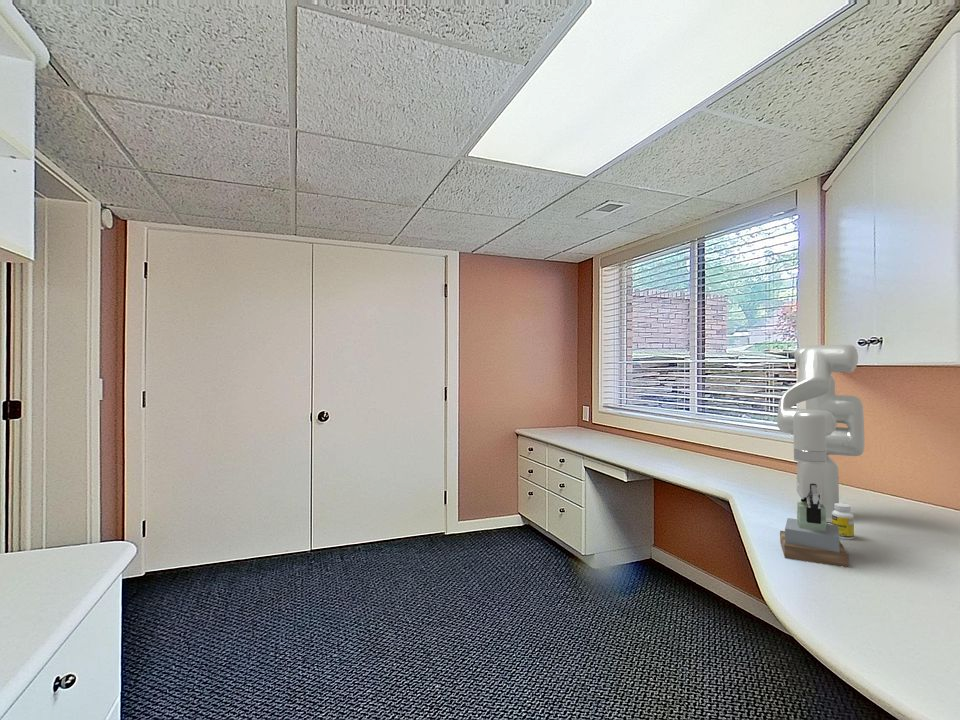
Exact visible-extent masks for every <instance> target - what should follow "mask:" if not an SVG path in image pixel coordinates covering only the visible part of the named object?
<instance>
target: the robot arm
mask: <svg viewBox="0 0 960 720" xmlns="http://www.w3.org/2000/svg"><path fill="white" fill-rule="evenodd" d="M793 357H794V361H795V364H796V366H797V368H798V378H797V382H796V383H795V384H793V385H792V386H790V387H789V388H788V389H786V391H785V392H784V393H783V394H782V396H781V397H780V399H779V402H778V409H777V417H776V422H777V423H776V424H777V428H778V429H779V430H780V431H781V432H782V433H785V434H790V435H792V436H793V461H795V462H797V463H796V464H797V465H796V493H797V494H798V497H800V498H801V499H800V501H802V502H807V505H808V507H806V517H807V522H808V523H816V524H821V508H820V503H821V504H823V505H824V507H825V509H826V523H828V524H832V512H833V511H834V510H835V508H834V504H835V503H840V494H839V493H840V492H839V490H840V489H839V488H840V487H839V486H840V485H839V484H840V482H839V479H840V478H839V468H838V465H837V463H836V462H835V461H834V460H833V459H832V458H831V456H834V455H835V456H842V457H843V456H844V457H859V456H862V455H863V454H864V451H865V420H864V419H865V418H864V417H865V416H864V414H865V412H864V406H863V403H862V401H861V399H860V398H859V397H858V396H855V395H848V394H847V395H846V394H836V381H835V379H834V377H833V376H832V373H853V372H854V371H855V370H856V368H857V365H858V363H859V354H858V350H857V349H856V347H855V346H854V345H853V344H830V345H828V344H827V345H826V344H821V345H820V344H819V345H817V344H816V345H814V344H813V345H804V346H801V347H797V348H796V349H795V351H794V355H793ZM802 402H805V408H793V406H795V405H797V404H798V403H802ZM837 424H843V425H846V426H847V427H843V426H842V427H841V426H837ZM830 455H831V456H830Z"/></svg>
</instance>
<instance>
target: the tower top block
mask: <svg viewBox="0 0 960 720" xmlns="http://www.w3.org/2000/svg"><path fill="white" fill-rule="evenodd" d="M784 531H785V543H787V544H792V545H798V546H804V547H810V548H815V549H821V550H827V551H832V552H838V553H839V540H840V538H839V529H838V525H832V523H826V531H819V530H812V529H804V528H799V525H798V522H797V518H789V517H787V519H786V522H785V526H784Z"/></svg>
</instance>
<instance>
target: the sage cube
mask: <svg viewBox="0 0 960 720" xmlns="http://www.w3.org/2000/svg"><path fill="white" fill-rule="evenodd" d="M806 507H808V505H807V502H802V501H801V500H797V501H796V508H797V509H796V511H797V512H796V514H797V515H796V519H797V522H798V525H799V528H804V529H812V530H819V531H826V524H827V522H826V509H825V507H824V505H823V504H821V503H820V508H821V524H816V523H808V522H807V517H806Z"/></svg>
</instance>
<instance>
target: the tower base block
mask: <svg viewBox="0 0 960 720" xmlns="http://www.w3.org/2000/svg"><path fill="white" fill-rule="evenodd" d="M779 542H780V547H781V550H782V553H783V556H784V559H787V560H788V559H789V560H795V561H800V562H807V561H808V562H809V563H814V562H815V563H816V564H820V563H822V565H827V564H828V566H834V565H835V567H841V566H843V567H842V568H848V567H849V566H850V565H849V564H850V563H849V553H848V551H847V550H846V548H845V547H844V545H843V544H842V542H841V540H840V539H839V553H838V552H832V551H827V550H821V549H815V548H810V547H804V546H798V545H792V544H787V543H785V530H779ZM815 563H814V564H815Z"/></svg>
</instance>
